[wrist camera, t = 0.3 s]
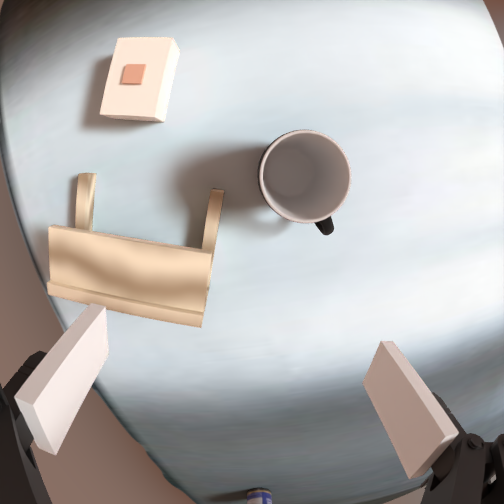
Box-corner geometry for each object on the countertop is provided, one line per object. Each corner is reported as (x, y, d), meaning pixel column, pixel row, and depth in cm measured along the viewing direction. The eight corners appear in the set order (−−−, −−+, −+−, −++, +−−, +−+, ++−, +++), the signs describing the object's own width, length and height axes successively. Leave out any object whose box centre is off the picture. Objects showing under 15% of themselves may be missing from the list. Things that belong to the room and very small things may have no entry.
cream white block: (131, 50, 31) (116, 36, 26) (180, 51, 32) (172, 36, 26) (115, 119, 34) (97, 113, 29) (164, 122, 34) (153, 116, 29)
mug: (239, 158, 36) (240, 157, 26) (302, 125, 35) (324, 113, 26) (286, 240, 39) (302, 266, 30) (345, 207, 39) (377, 223, 29)
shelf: (87, 172, 35) (46, 178, 26) (224, 190, 37) (219, 200, 28) (82, 266, 39) (48, 294, 30) (208, 289, 41) (201, 327, 31)
